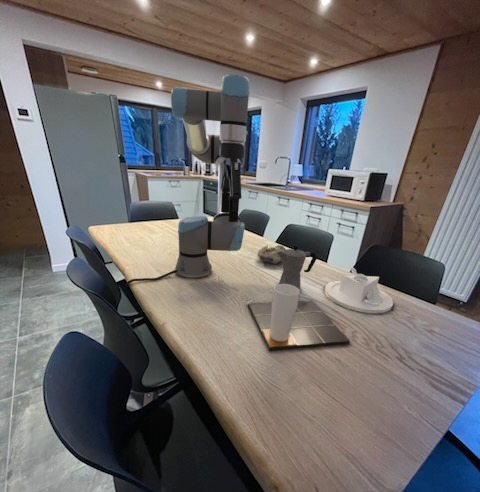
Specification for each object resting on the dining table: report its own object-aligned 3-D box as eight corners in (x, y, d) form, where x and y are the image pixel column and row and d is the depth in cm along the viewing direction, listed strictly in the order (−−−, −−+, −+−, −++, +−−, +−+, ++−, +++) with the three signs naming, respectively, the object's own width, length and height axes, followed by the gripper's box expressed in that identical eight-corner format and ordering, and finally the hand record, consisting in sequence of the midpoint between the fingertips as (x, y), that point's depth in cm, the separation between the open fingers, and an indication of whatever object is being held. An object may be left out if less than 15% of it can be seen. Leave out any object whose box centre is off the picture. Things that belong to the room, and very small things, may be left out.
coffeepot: (274, 293, 102) (280, 248, 94) (271, 282, 110) (276, 240, 102) (313, 294, 102) (323, 250, 95) (307, 284, 111) (315, 242, 103)
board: (269, 350, 70) (270, 347, 70) (248, 305, 91) (248, 302, 91) (349, 343, 75) (350, 340, 75) (311, 302, 96) (312, 299, 96)
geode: (253, 270, 134) (280, 273, 126) (248, 255, 129) (276, 257, 121) (267, 251, 144) (292, 253, 136) (263, 236, 139) (290, 237, 131)
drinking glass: (275, 346, 70) (284, 297, 63) (262, 332, 75) (268, 285, 69) (296, 340, 73) (305, 292, 66) (281, 327, 78) (289, 282, 72)
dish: (358, 318, 89) (367, 288, 84) (312, 286, 109) (317, 261, 104) (407, 307, 98) (418, 279, 93) (356, 280, 119) (363, 256, 114)
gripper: (256, 143, 67) (249, 226, 77) (235, 144, 88) (232, 209, 98) (227, 141, 65) (224, 226, 75) (213, 142, 87) (212, 208, 96)
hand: (228, 216), depth 86 cm, fingers open, 13 cm apart
